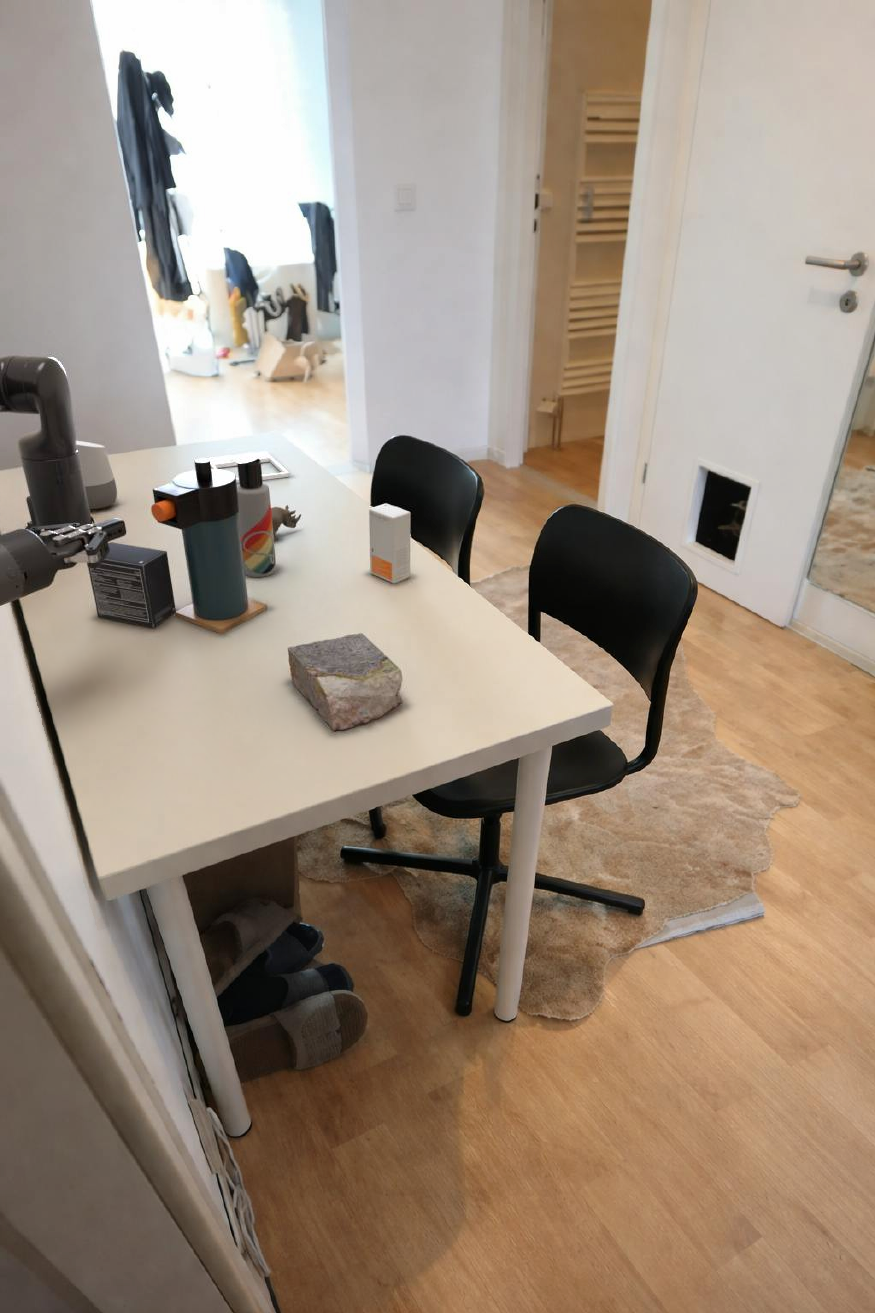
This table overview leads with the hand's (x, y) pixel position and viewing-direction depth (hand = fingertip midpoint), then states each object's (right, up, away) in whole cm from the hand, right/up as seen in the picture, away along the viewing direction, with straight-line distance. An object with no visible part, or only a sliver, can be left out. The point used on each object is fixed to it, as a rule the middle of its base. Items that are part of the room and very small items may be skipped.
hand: (121, 525), depth 109 cm
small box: (-5, -11, +20) cm, 23 cm away
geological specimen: (+30, -22, +1) cm, 37 cm away
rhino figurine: (+10, +5, +47) cm, 49 cm away
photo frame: (-3, +26, +82) cm, 86 cm away
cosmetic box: (+34, -3, +34) cm, 48 cm away
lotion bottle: (+11, -3, +35) cm, 36 cm away
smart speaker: (-29, +14, +61) cm, 68 cm away
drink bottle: (+7, -10, +19) cm, 23 cm away
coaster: (+8, -10, +21) cm, 24 cm away
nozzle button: (+4, +2, +6) cm, 8 cm away
